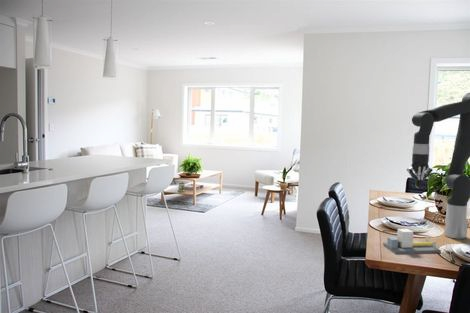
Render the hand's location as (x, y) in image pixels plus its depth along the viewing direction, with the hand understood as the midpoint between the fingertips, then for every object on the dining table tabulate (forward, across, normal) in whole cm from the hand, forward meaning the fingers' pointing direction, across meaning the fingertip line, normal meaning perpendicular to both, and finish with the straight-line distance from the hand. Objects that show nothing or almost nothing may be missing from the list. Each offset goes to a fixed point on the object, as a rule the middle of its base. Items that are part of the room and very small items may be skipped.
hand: (418, 187), depth 205 cm
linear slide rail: (+27, +10, +14) cm, 32 cm away
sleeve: (+25, +14, +14) cm, 32 cm away
